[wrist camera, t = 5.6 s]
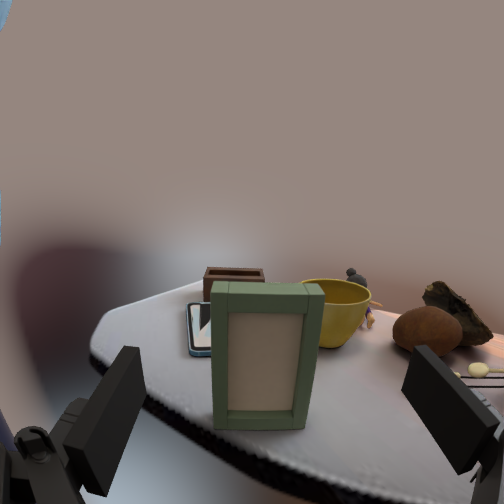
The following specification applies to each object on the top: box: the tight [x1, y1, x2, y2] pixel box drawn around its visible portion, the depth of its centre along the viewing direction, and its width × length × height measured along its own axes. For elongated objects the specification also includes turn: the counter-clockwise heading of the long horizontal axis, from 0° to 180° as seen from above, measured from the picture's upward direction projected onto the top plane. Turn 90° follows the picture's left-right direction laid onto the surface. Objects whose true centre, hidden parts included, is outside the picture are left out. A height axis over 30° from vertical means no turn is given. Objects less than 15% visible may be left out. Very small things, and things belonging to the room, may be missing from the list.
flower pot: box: [300, 279, 371, 348], centre depth 41 cm, size 10×10×7 cm
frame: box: [210, 281, 325, 430], centre depth 24 cm, size 8×2×13 cm, turn 92°
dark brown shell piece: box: [422, 281, 493, 346], centre depth 40 cm, size 16×9×7 cm, turn 177°
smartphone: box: [186, 302, 211, 356], centre depth 44 cm, size 7×1×15 cm
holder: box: [203, 267, 265, 302], centre depth 56 cm, size 10×6×4 cm, turn 92°
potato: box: [393, 306, 463, 357], centre depth 36 cm, size 7×10×7 cm
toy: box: [346, 268, 382, 328], centre depth 51 cm, size 10×6×15 cm
